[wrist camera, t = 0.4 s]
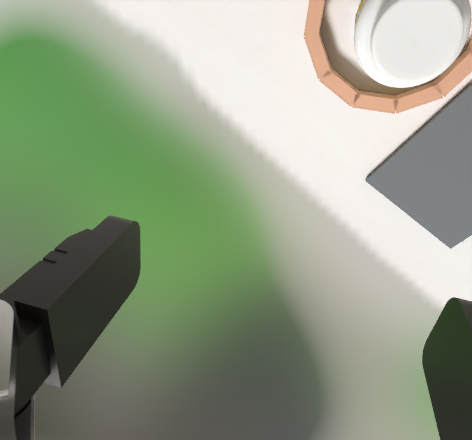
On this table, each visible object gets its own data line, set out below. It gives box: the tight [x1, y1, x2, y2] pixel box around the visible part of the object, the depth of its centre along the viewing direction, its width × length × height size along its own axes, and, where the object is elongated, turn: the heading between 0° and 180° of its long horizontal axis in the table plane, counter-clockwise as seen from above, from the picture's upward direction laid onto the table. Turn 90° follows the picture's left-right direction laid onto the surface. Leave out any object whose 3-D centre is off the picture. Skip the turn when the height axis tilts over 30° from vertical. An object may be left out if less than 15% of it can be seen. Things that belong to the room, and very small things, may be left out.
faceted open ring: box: [304, 0, 472, 114], centre depth 25 cm, size 12×12×1 cm
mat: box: [366, 84, 472, 249], centre depth 30 cm, size 10×10×1 cm
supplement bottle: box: [354, 0, 471, 88], centre depth 22 cm, size 6×6×10 cm
